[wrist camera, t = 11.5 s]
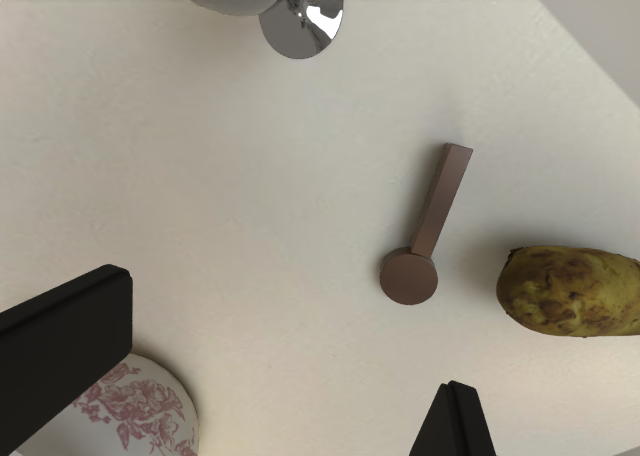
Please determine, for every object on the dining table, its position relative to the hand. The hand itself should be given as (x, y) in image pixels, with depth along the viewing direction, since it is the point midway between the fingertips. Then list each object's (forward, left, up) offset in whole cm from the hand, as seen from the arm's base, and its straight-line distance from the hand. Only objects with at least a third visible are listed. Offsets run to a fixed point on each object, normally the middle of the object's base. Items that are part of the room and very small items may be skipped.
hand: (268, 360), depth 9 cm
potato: (+1, +18, -22) cm, 28 cm away
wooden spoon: (+1, +6, -21) cm, 22 cm away
